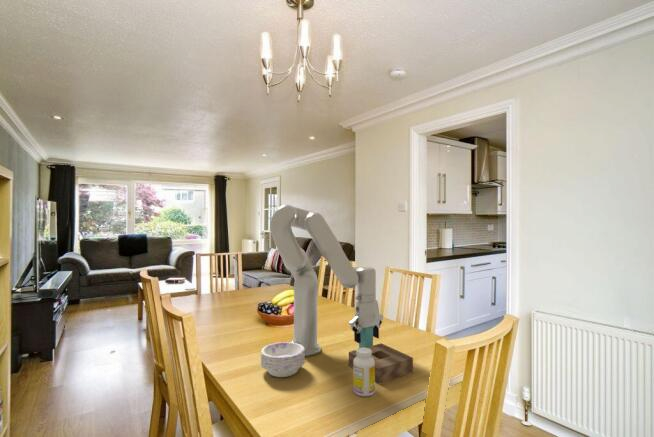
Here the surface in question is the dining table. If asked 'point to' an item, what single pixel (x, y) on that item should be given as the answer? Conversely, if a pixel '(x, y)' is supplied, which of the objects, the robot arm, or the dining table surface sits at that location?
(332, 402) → the dining table surface
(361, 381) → the supplement bottle
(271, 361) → the paper bowls
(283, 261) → the robot arm
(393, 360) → the socket block
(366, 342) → the peg
